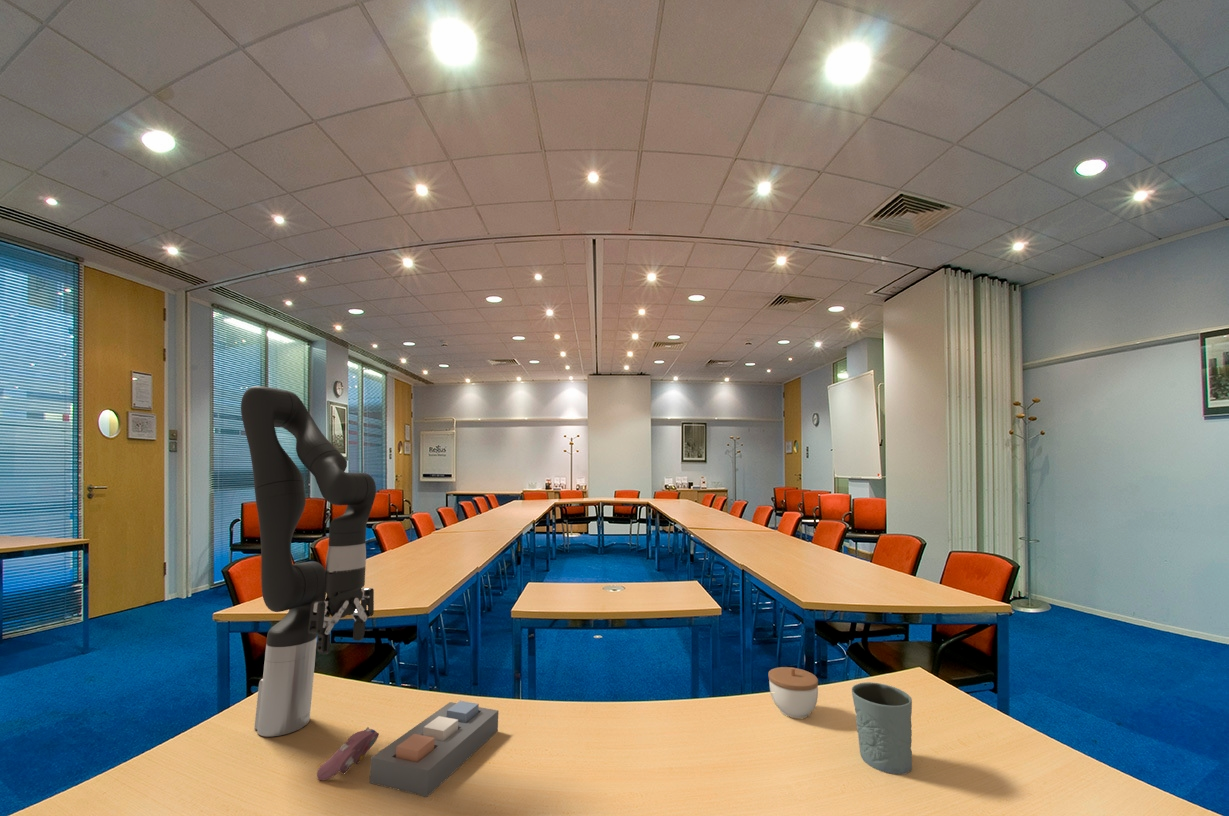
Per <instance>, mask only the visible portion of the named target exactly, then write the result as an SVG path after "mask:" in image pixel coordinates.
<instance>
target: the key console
mask: <svg viewBox="0 0 1229 816" xmlns="http://www.w3.org/2000/svg"><path fill="white" fill-rule="evenodd" d="M456 703H457V702H452V701H449V702H448V703H447V704H445V705H444V706H442V707H441V708H440V709H438V710H437V711H435V712H434V713H432V714H431V715H429V716H428V717H426V718H425V719H424V720H422V721H421V722H419V723H418V724H417V725H415V726H413V727H412V728H411V729H410V730H408V731H407V732H405V733H404V734H401V736H399V737H398V738H397V739H394V741H392V742H390V744H388V745H387V746H386V747H384V748H383V749H381V750H379V751H378V752H377V753H375V754H374V755H373V756H371V757H370V770H369V783H370V784H374V785H378V786H381V787H385V788H389V787H391V788H390V789H393V788H394V790H397V789H399V790H398V791H401V792H406V793H409V794H414V795H418V796H422V797H424V798H428V797H429V796H430V795H431V794H432V793H433V792H434V791H435V790H436V789H438V787H439V786H440V785H442V784H443V783H444V782H445V781H446V780H447V779H449V777H451V775H452V774H453V773H455V772H456V770H458V769H459V768H460V767H461V766H462V765H463V764H464V763H465V762H466V761H467V760H468V759H470V758H471V757H472V755H474V754H475V753H476V752H477V751H478V750H479V749H480V748H481V747H482V746H484V744H486V742H488V741H489V740H490V739H491V738H492V737H493V736H495V734H496V733H498V731H499V709H492V708H486V707H481V706H479V707H478V714H477V715H476V716H475V717H473V718H472V719H471V720H470V721H469V722H467V723H461V722H458V730H457V731H456V732H455V733H454V734H452V735H451V736H450V737H449V738H448V739H446V740H445V741H444V742H443V741H438V740H435V743H434V750H433V751H431V752H430V753H429V754H428V755H427V756H425V757H424V758H423V759H422V760H420V761H419V762H418V763H417V762H412V761H408V760H403V759H399V758H396V748H397V746H398V745H399V744H401V743H402V742H404V741H405V740H406V739H408V738H409V737H411V736H412V735H413V734H418V735H423V728H424V726H426V725H427V724H429V723H430V722H431V721H433V720H434V719H436V718H437V717H438V716H441V717H447V710H448V709H449V708H451V707H452V706H454V705H455V704H456Z"/></svg>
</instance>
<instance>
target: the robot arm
mask: <svg viewBox="0 0 1229 816" xmlns="http://www.w3.org/2000/svg"><path fill="white" fill-rule="evenodd" d="M240 413H241V420H242V424H243V427H244V428H243V429H244V432H245V436H246V440H247V444H248V448H249V453H250V459H251V466H252V475H253V485H254V495H255V496H254V497H255V505H256V510H257V516H258V524H259V525H258V527H259V533H260V534H259V536H260V549H261V550H260V552H261V553H260V554H261V555H260V563H261V564H260V567H261V568H260V571H261V573H260V574H261V575H260V577H261V578H260V580H261V581H260V583H261V584H260V585H261V594H262V599H263V602H264V605H265V606H266V608H267V609H268V610H269V611H271V612H273V613H281V612H285V611H288V612H287V614H286V615H284V617H283V618H281V619H280V621H278V622H277V623H276V624H274V625H273V626H272V627H270V628H269V630H268V632H267V635H266V636H267V637H266V642H265V643H266V644H265V652H264V664H263V674H262V678H261V679H260V680H259V682H258V689H257V697H256V699H257V701H256V708H255V709H256V711H255V718H254V719H255V720H254V730H256V731H257V734H258V735H259V736H261V737H279V736H284V735H288V734H291V733H293V732H296V731H298V730H300V729H302V728H303V727H305V726H307V724H308V723H309V722H310V720H311V719H310V718H311V709H312V708H311V707H312V699H313V698H312V697H313V687H314V675H315V674H314V673H315V663H316V651H317V652H318V654H319V655H328V654H329V653H330V652H331V649H330V648H331V638H332V637H331V631H332V629H333V628H334V626H335V625H336V624H338V622H339V621H340V619H342V618H345V617H347V616H351V617H352V619H353V620H354V622H353V628H352V640H353V641H356V642H357V641H358V642H360V641H362V640H363V639H364V637H365V633H366V632H365V631H366V621H367V620H368V618H369V617H372V616H373V615H374V613H375V609H374V608H375V607H374V606H375V605H374V604H375V602H374V601H375V600H374V599H375V598H374V597H375V596H374V595H375V592H374V588H373V587H371V588H369V587H365V586H366V585H365V584H366V563H367V547H366V541H367V540H366V537H367V523H368V521H369V518H370V515H371V511H372V509H373V508H372V507H373V506H374V503H375V502H374V501H375V500H376V495H377V487H376V486H377V485H376V482H375V478H373V476H372V475H371V474H369V473H366V472H346V469H347V467H348V462H347V459H346V458H345V457H344V455H343V454H342V453H341V452H340V451H339V450H338V449H337V447H336V446H334V445H333V443H331V441H329V439H328V438H327V437H326V436H325V434H324V433H322V431H321V429H320V427H318V425H317V424H316V421H315V420H314V418H313V416H312V415H311V414H310V412H309V410H308V409H307V407H306V405H305V404H304V403H303V401H302V399H301V398H300V397H299V396H298V395H297V394H296V393H294V392H292V391H289V390H285V389H282V388H280V389H279V388H274V387H268V386H262V385H254V386H251V387H249V388H247V390H245V391H244V393H243V395H242V398H241V403H240ZM276 428H283V429H284V430H286V431H287V432H289V433H290V434H292V435H293V437H294V438H295V439H296V440H295V441H296V442H295V451H296V456H297V457H298V459H299V461H301V464H302V465H303V466H304V467H305V468H306V469H307V470H308V471H309V472H310V473H311V474H312V475H313V476H314V478H315V482H316V484H317V486H318V489H319V491H320V494H321V496H322V497H323V499H324V500H325V501H327V502H328V503H330V505H331V504H332V505H334V506H346V509H345V511H344V513H343V514H342V515H340V516H338V517H335V518H333V519H332V520H331V522H330V524H329V531H328V532H329V533H328V547H327V553H326V557H325V567H324V566H323V564H321V563H320V562H318V561H314V560H313V561H304V562H298V563H294V564H293V559H292V541H293V535H294V533H295V530H296V528H297V526H298V523H299V522H300V520H301V518H302V515H303V513H304V511H305V506H306V491H305V485H304V480H303V475H302V473H301V470H300V469H299V468H298V466H297V464H296V463H295V462H294V461H293V459H292V458H291V456H289V455H288V453H287V452H286V451H285V449H284V448H283V447H282V445H281V443H280V440H279V438H278V436H277V432H276ZM330 616H331V617H330Z"/></svg>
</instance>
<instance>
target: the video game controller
mask: <svg viewBox="0 0 1229 816" xmlns="http://www.w3.org/2000/svg"><path fill="white" fill-rule="evenodd" d="M379 735H380V733H379V732H378V731H376V730H375V729H372V728H370V727H368V726H367V727H366V728H365V729H364V730H361V731H357V732H355V733H353V734H352V735H350V736H349V738H348V739H347V741H345V743H344V744H342V745H341V746H340V747H339V748H338V749H337V750H336V751H335V753H333V755H332V756H330V758H329V759H327V760H326V761H325V762H323V764H321V765H320V766H319V767H318V769H317V771H316V777H317V779H318V780H320V781H326V780H329V779H331V778H332V777H334V776H335V775H336V774H338V773H341V774H342V775H345V774H346V773H347V772H348V771H349V770H350V769H351V767H352V765H353V764H356V765H357V764H359V763H360V762H361V761H362V760H363V759H364V758H365V755H366V753H368V752H369V750H370V749H372V747H373V746H374V744H375V743H376V741H377V739H378V738H379ZM359 761H360V762H359ZM358 762H359V763H358ZM344 773H345V774H344Z"/></svg>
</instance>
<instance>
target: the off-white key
mask: <svg viewBox="0 0 1229 816" xmlns="http://www.w3.org/2000/svg"><path fill="white" fill-rule="evenodd" d="M457 730H458V719H452V718H447V717H441V716H438V717H437V718H436V719H434V720H433V721H431V722H430V723H429V724H427V725H426V726H424V728H423V736H428V737H433V738H435V740H438V741H443V742H444V741H445V740H446V739H448V738H449V737H450V736H451V735H452V734H454V733H455V732H456V731H457Z"/></svg>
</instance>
